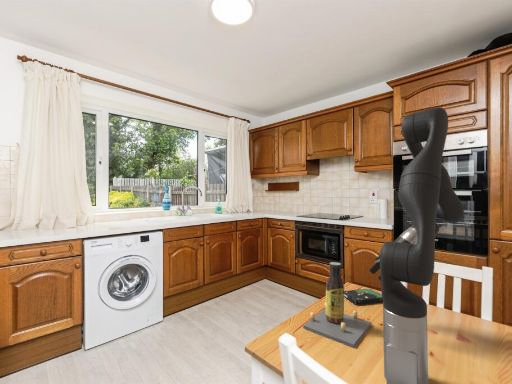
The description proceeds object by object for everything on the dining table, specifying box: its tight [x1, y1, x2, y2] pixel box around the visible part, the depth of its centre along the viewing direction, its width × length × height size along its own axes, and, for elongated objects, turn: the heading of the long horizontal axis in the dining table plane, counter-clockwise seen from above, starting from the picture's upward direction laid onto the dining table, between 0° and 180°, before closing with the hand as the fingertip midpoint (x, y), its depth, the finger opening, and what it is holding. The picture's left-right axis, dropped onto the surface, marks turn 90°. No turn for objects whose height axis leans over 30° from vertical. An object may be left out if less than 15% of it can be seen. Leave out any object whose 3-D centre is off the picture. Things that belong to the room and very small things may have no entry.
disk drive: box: [344, 288, 383, 306], centre depth 109 cm, size 10×3×15 cm
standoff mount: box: [302, 301, 373, 349], centre depth 86 cm, size 17×17×4 cm
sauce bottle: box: [324, 261, 345, 323], centre depth 89 cm, size 6×6×20 cm
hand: (375, 275), depth 88 cm, fingers open, 8 cm apart
